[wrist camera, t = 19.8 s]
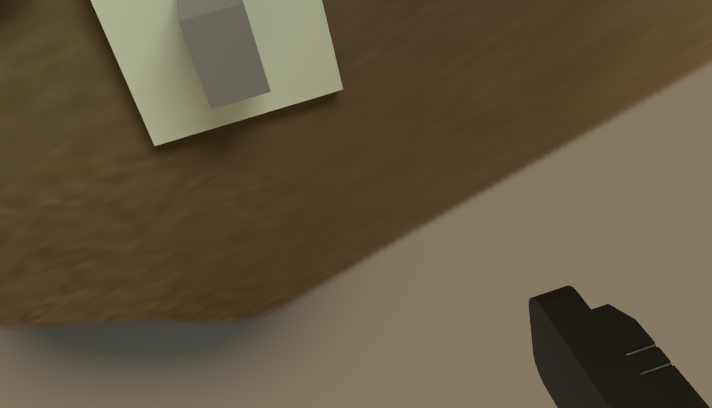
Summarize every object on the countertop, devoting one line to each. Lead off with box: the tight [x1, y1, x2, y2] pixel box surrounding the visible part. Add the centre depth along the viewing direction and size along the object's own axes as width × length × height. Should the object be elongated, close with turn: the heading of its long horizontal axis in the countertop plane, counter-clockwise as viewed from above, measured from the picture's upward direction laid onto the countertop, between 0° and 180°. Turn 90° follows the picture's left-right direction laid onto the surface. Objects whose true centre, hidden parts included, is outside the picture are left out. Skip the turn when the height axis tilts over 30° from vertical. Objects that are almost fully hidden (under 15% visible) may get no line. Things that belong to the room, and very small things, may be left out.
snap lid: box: [91, 0, 343, 146], centre depth 28 cm, size 9×9×6 cm
